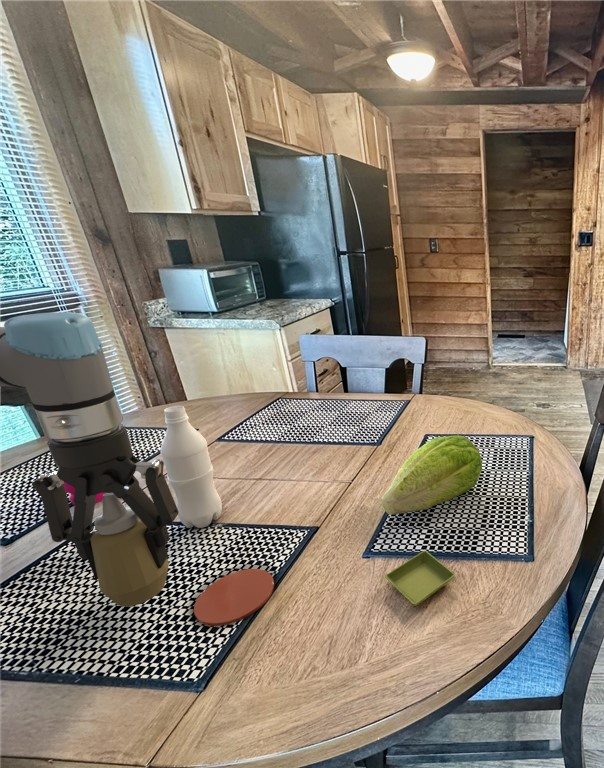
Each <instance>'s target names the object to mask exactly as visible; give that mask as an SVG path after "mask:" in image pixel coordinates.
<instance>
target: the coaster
mask: <svg viewBox="0 0 604 768" xmlns="http://www.w3.org/2000/svg"><path fill="white" fill-rule="evenodd" d="M274 589H275V580H274V577H273V575H272V574H271V573H270V572H269V571H267V570H265V569H261V568H246V569H241V570H237V571H234V572H231V573H229V574H226V575H224V576H222V577H220V578H218V579H217V580H215V581H213V582H212V583H211V584H210V585H208V586H207V587H206V588H205V589H204V590H203V591H202V592H201V593H200V594H199V596H198V597H197V599H196V601H195V603H194V606H193V614H194V616H195V619H196V621H197V622H199V623H200V624H202V625H205V626H207V627H208V626H209V627H221V626H227V625H231V624H234V623H237V622H239V621H242V620H243V619H247V617H249V616H251V615H253V614H254V613H256V612H257V611H259V610H260V608H261V607H263V606H264V605H265V604H266V603H267V602H268V601H269V600H270V598H271V596H272V594H273V592H274Z"/></svg>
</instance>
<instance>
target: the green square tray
mask: <svg viewBox="0 0 604 768" xmlns="http://www.w3.org/2000/svg"><path fill="white" fill-rule="evenodd" d="M455 576H456V574H455V573H454V572H453V571H452V570H451V569H449V568H448V567H447V566H445V564H443V563H442V562H441V561H439V560H438V559H437V558H436V557H435V556H433V555H432V554H431V553H430V552H428V551H427V550H423V551H421V552H419V553H418V554H416V555H414V556H413V557H411V558H410V559H409V560H407V561H405V562H404V563H402V564H400V565H398V566H397V567H396V568H394V569H393V570H391V571H389V572H388V573H386V574H385V575H384V578H385V579H386V580H387V581H388V583H390V584H391V585H392V586H393V587H394V588H395V589H396V590H397V591H398V592H399V593H400V594H401V595H402V596H403V597H405V599H407V601H408V602H409V603H411V604H412V606H414V607H415V606H416V607H417V606H418V605H420V604H421V603H422V602H424V601H425V600H426V599H428V598H429V597H431V596H432V595H433V594H435V593H436V592H438V591H439V590H440V589H442V588H443V587H444V586H445V585H447V584H448V583H449V582H450V581H452V580H453V579H454V578H455Z"/></svg>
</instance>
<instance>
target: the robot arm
mask: <svg viewBox="0 0 604 768" xmlns="http://www.w3.org/2000/svg"><path fill="white" fill-rule="evenodd" d="M103 346H104V345H103V342H102V341H101V339H99V336H98V334H97V331H96V328H95V325H94V323H93V321H92V319H91V318H89V316H87V315H86V314H82V313H80V312H72V311H71V312H69V311H68V312H67V311H65V312H64V311H63V312H53V311H52V312H39V313H30V314H23V315H17V316H13V317H10V318H7V320H5V321H4V323H3V326H0V387H11V388H12V387H13V388H21V389H23V388H24V389H26V391H27V395H28V396H29V399H30V401H31V403H32V407H33V408H34V411H35V414H36V417H37V419H38V422H39V424H40V427H41V429H42V432H43V435H44V437H46V438H47V439H48V438H50V439H48V441H47V446H48V449H49V452H50V454H51V457H52V460H53V462H54V465H56V466H57V467H58V469H57V471H51V470H49V471H45V472H44V473H42V475H40V476H39V477H37V478H36V479H35V480H33V481H32V482H31V487H32V488H33V489H34V490H35V491H36V492H37V494H38V495H39V496H40V498H41V503H42V506H43V510H44V513H45V517H46V521H47V525H48V530H49V532H50V536H51V540H52V541H53V542H55V543H61V542H63V541H70V542H71V543H72V544H74V547H75V548H76V551H77V554H78V556H79V558H80V559H81V560H87V561H88V564H89V566H90V567H89V568H90V569H91V572H92V575H93V577H94V580H95V581H96V580H97V581H98V576H97V571H96V566H95V561H94V556H93V551H92V546H91V540H90V539H91V537H92V536H93V534H94V533H95V532H96V531H97V530H93V529H94V528H95V525H93V522H94V514H95V512H94V511H95V507H96V503H95V500H96V495H97V494H100V493H114V494H115V496H116V497H117V498H118V499H119V500H122V501H123V502H124V503H125V504H126V506H129V507H130V508H131V510H132V511H133V512H134V513H135V514H136V515H137V516H138V517H139V519H140V520H141V521H142V522H143V523H144V524H145V525H146V526H147V528H148V529H147V530H146V532H145V533H144V537H145V540H146V543H147V546H148V549H149V551H150V553H151V555H152V557H153V559H154V561H155V563H156V565H157V567H158V569H159V568H161V567H162V566H163V564H164V562H165V561H166V559H168V557H169V553H168V550H167V547H166V545H167V543H168V542H169V541H170V534H169V530H168V527H167V526H171V525H172V524H173V523H174V521H175V520H176V519H177V517H178V513H179V511H178V509H177V503H176V501H175V499H174V497H173V494H172V492H171V489H170V487H169V483H167V482H168V481H167V480H166V477H165V475H164V467H165V464H164V461H163V459H160V458H159V459H155V460H154V461H153V462H151V461H150V462H149V461H140V460H139V459H138V458H137V457H136V456H135V455H134V453H133V450H132V443H131V439H130V436H129V434H128V430H127V427H126V425H125V424H124V423H123V422H124V416H123V413H122V411H121V407H120V404H119V401H118V399H117V395H116V392H115V387H114V385H113V381H112V378H111V374H110V371H109V368H108V364H107V359H106V357H105V353H104V350H103ZM136 472H138V473H140V476H141V479H143V480H145V481H144V482H145V485H146V488H147V490H148V493H149V495H150V497H151V498H150V497H149V496H148V494H147V493H146V492H145V491H144V489H143V488H142V487H141V486H140V481H139V480H138V478H137V477H136V476H135V473H136ZM64 482H66V483H67V484H69V485H71V486H72V487H74V488H75V492H74V500H73V502H75V505H74V508H73V515H72V513H71V508H70V505H69V499H68V495H67V492H66V491H65V487H64V485H63V483H64ZM92 530H93V531H92Z"/></svg>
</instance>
